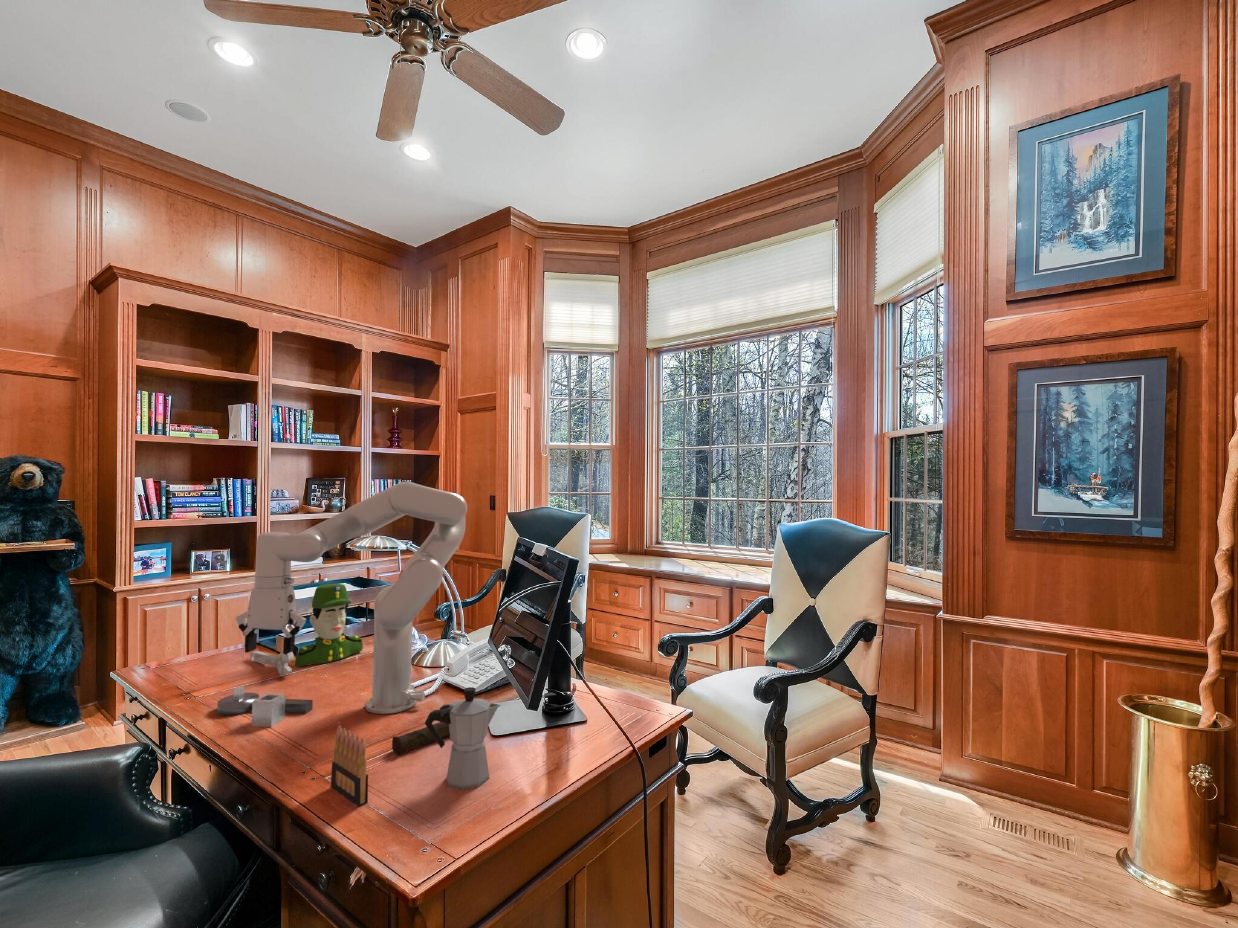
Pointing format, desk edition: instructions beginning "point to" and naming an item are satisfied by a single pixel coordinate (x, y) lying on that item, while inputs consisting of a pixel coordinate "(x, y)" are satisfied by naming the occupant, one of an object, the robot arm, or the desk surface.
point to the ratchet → (243, 701)
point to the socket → (268, 710)
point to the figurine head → (329, 627)
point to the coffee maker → (465, 738)
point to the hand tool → (417, 738)
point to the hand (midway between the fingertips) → (269, 651)
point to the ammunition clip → (350, 767)
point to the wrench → (274, 660)
